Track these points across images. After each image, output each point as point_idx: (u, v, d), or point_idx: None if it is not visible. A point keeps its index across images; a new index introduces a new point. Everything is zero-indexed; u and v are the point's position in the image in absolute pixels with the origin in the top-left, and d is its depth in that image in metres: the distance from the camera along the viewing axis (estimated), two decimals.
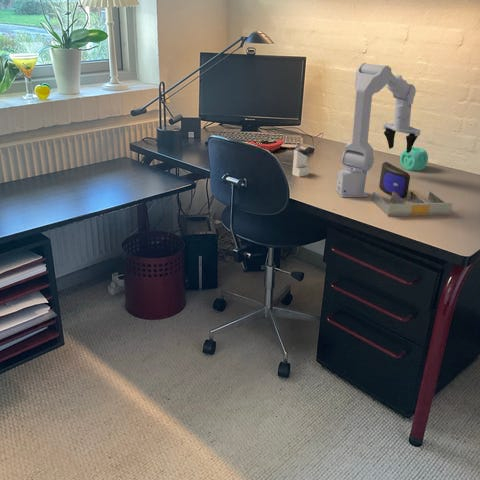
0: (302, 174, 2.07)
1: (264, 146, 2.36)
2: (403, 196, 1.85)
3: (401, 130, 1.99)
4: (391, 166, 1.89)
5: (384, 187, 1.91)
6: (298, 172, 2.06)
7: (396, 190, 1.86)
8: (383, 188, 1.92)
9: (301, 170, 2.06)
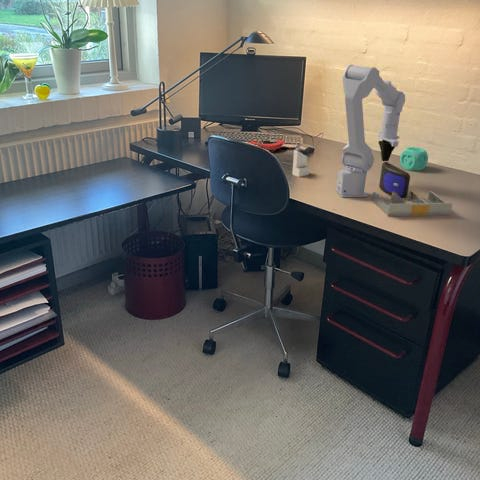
0: (302, 174, 2.07)
1: (266, 146, 2.36)
2: (403, 196, 1.85)
3: (383, 138, 1.94)
4: (391, 166, 1.90)
5: (384, 187, 1.91)
6: (298, 172, 2.06)
7: (396, 190, 1.86)
8: (383, 188, 1.92)
9: (301, 170, 2.06)
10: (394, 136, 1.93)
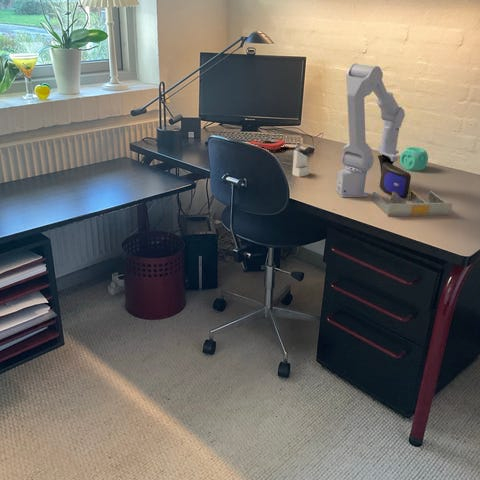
0: (302, 174, 2.07)
1: (268, 146, 2.37)
2: (404, 196, 1.85)
3: (382, 152, 1.95)
4: (392, 166, 1.89)
5: (384, 187, 1.91)
6: (298, 172, 2.06)
7: (397, 190, 1.86)
8: (384, 188, 1.91)
9: (301, 170, 2.06)
10: (393, 151, 1.94)
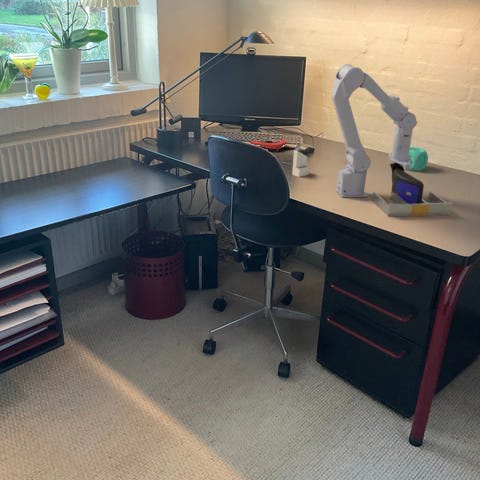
0: (302, 174, 2.07)
1: (270, 145, 2.37)
2: None
3: (394, 160, 1.85)
4: (403, 174, 1.81)
5: None
6: (298, 172, 2.06)
7: (409, 199, 1.78)
8: None
9: (301, 170, 2.06)
10: (406, 158, 1.84)
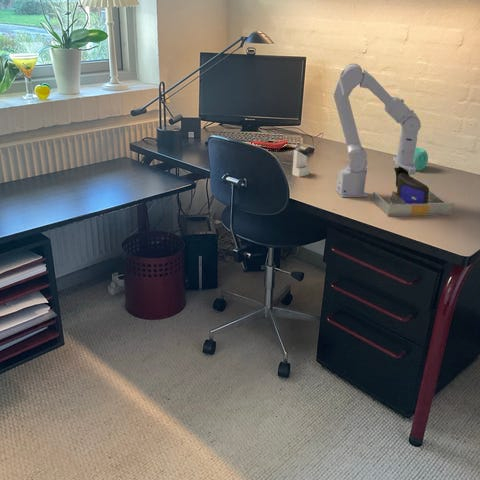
0: (302, 174, 2.07)
1: (272, 145, 2.38)
2: None
3: (398, 164, 1.81)
4: (408, 178, 1.76)
5: None
6: (298, 172, 2.06)
7: None
8: None
9: (301, 170, 2.06)
10: (411, 163, 1.80)
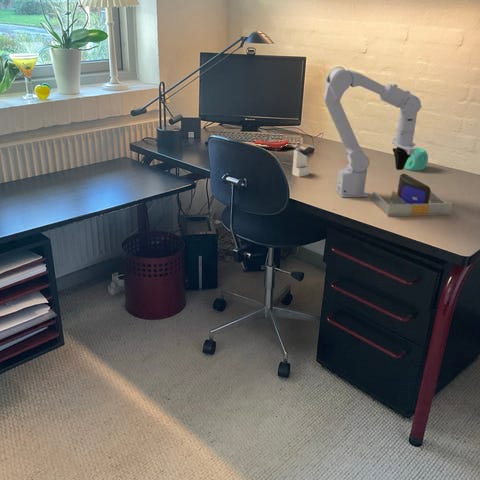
0: (302, 174, 2.07)
1: (274, 144, 2.39)
2: None
3: (397, 145, 1.81)
4: (410, 178, 1.77)
5: None
6: (298, 172, 2.06)
7: None
8: None
9: (301, 170, 2.06)
10: (410, 143, 1.80)
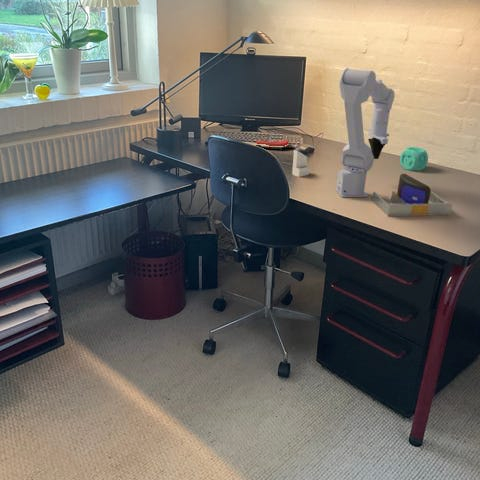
0: (302, 174, 2.07)
1: (276, 144, 2.39)
2: None
3: (372, 135, 1.93)
4: (410, 178, 1.77)
5: None
6: (298, 172, 2.06)
7: None
8: None
9: (301, 170, 2.06)
10: (384, 134, 1.92)
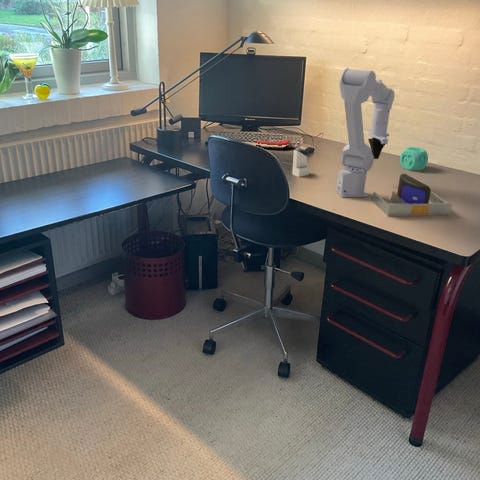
0: (302, 174, 2.07)
1: (276, 144, 2.40)
2: None
3: (372, 135, 1.93)
4: (410, 178, 1.77)
5: None
6: (298, 172, 2.06)
7: None
8: None
9: (301, 170, 2.06)
10: (384, 134, 1.92)
